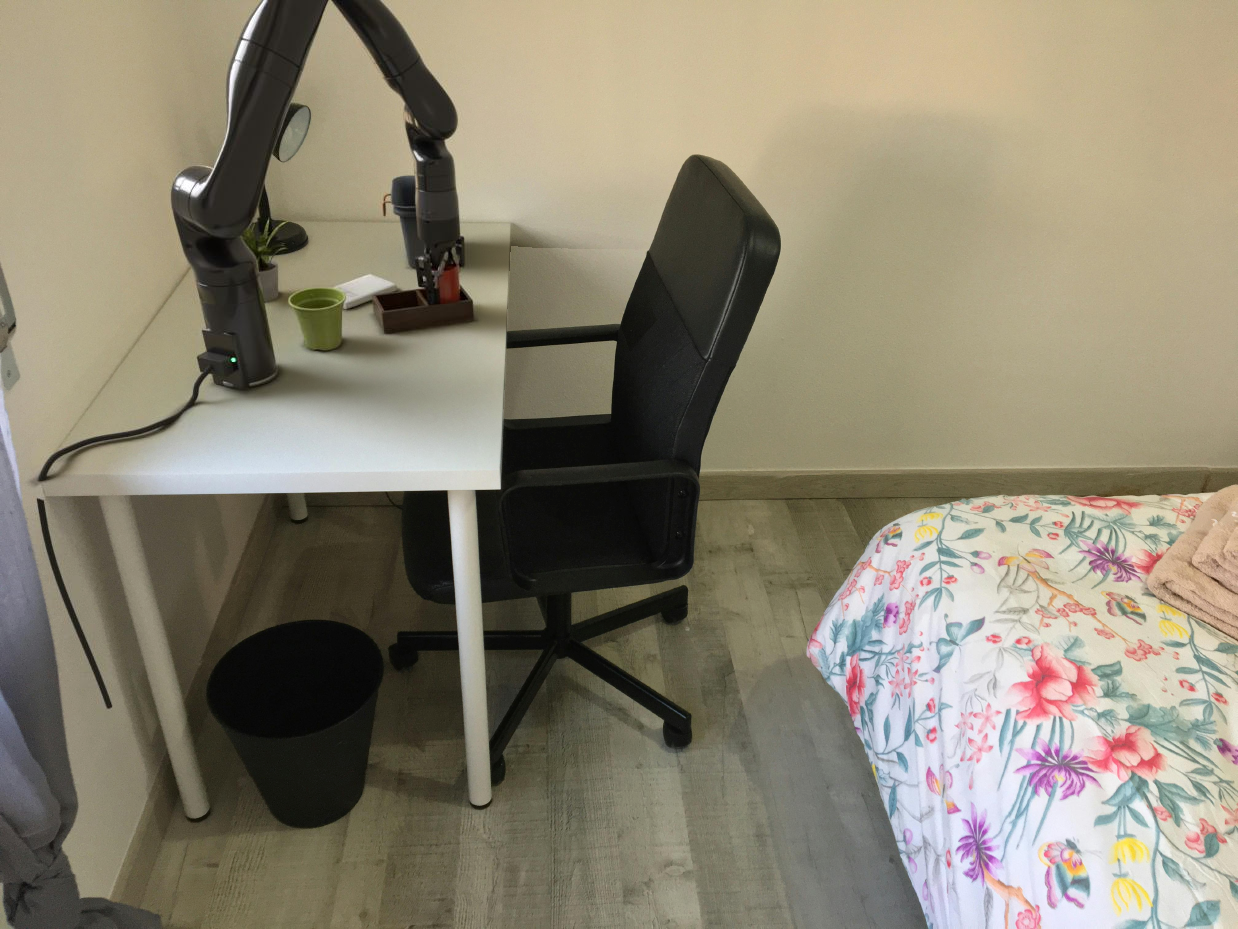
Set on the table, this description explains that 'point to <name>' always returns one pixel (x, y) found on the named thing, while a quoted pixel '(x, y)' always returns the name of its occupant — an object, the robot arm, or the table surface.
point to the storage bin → (406, 214)
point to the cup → (449, 284)
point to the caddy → (418, 310)
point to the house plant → (265, 261)
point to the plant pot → (319, 316)
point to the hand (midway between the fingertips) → (443, 299)
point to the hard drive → (364, 289)
